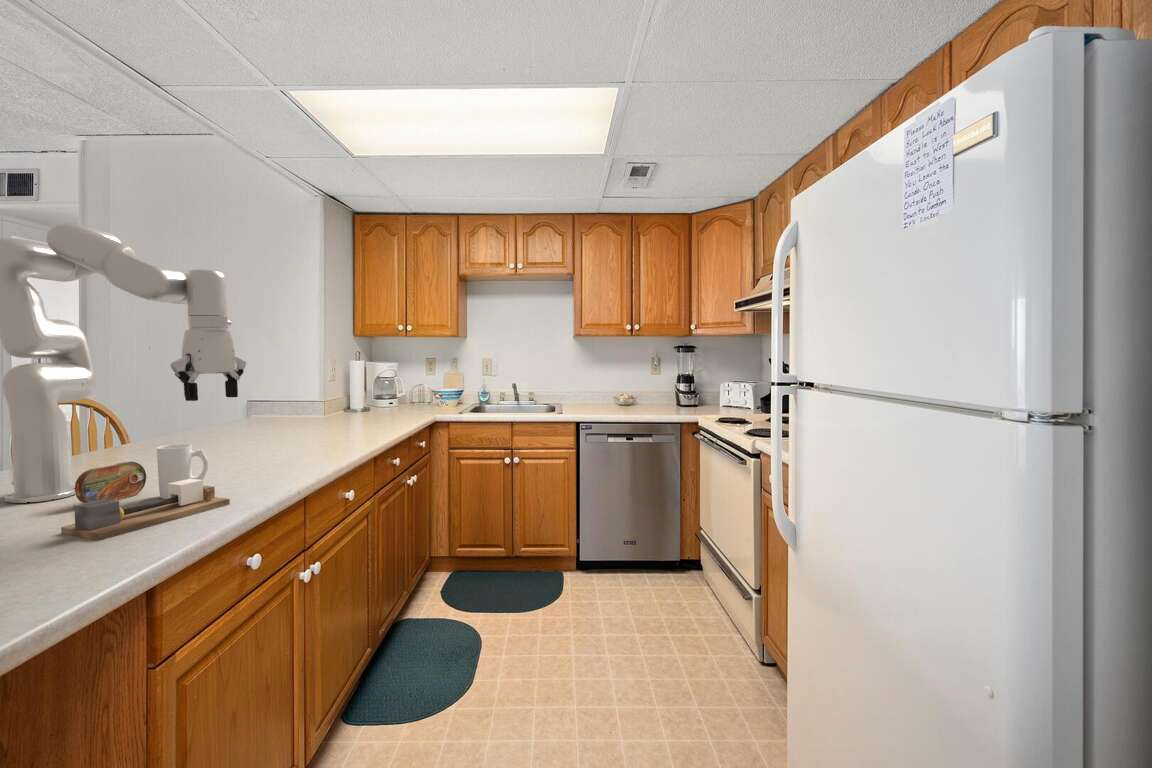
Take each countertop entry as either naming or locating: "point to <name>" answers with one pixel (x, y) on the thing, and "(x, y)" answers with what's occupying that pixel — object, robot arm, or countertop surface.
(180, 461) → the mug
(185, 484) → the off-white block
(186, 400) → the robot arm
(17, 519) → the countertop surface
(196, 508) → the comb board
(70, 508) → the countertop surface
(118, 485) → the tin
